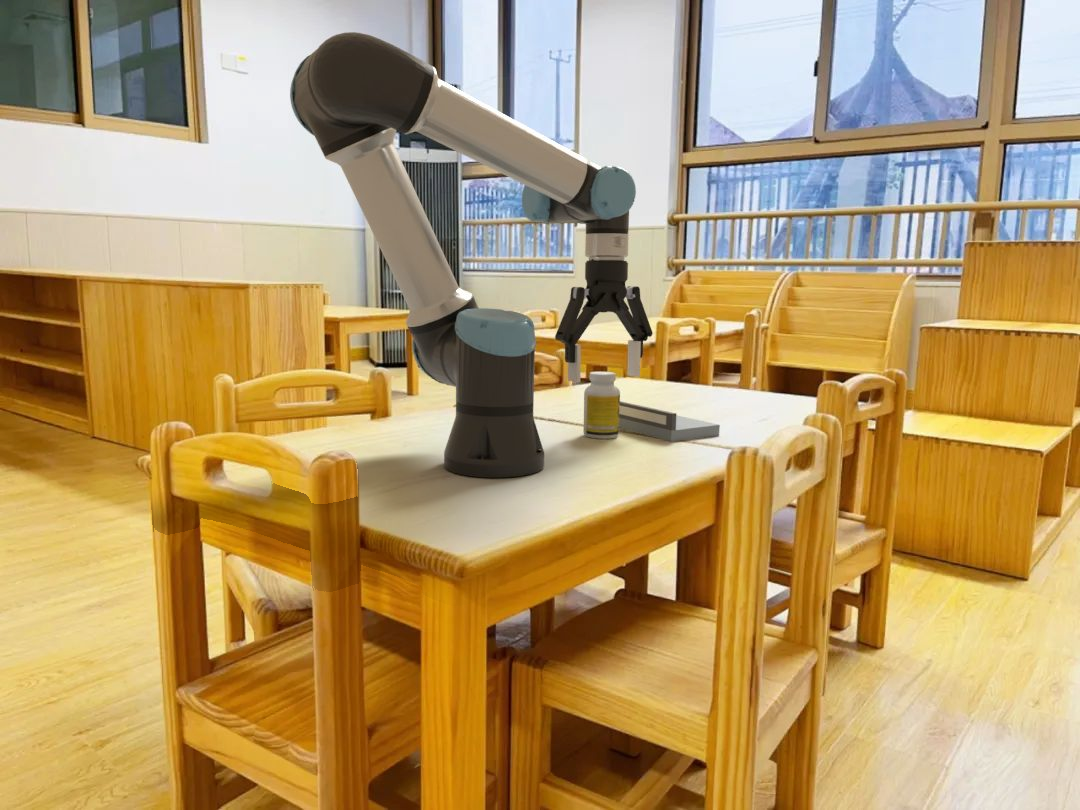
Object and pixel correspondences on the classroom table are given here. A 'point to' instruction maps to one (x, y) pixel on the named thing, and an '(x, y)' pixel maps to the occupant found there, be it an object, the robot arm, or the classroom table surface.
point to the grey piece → (663, 423)
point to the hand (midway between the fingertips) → (604, 378)
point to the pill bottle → (601, 406)
